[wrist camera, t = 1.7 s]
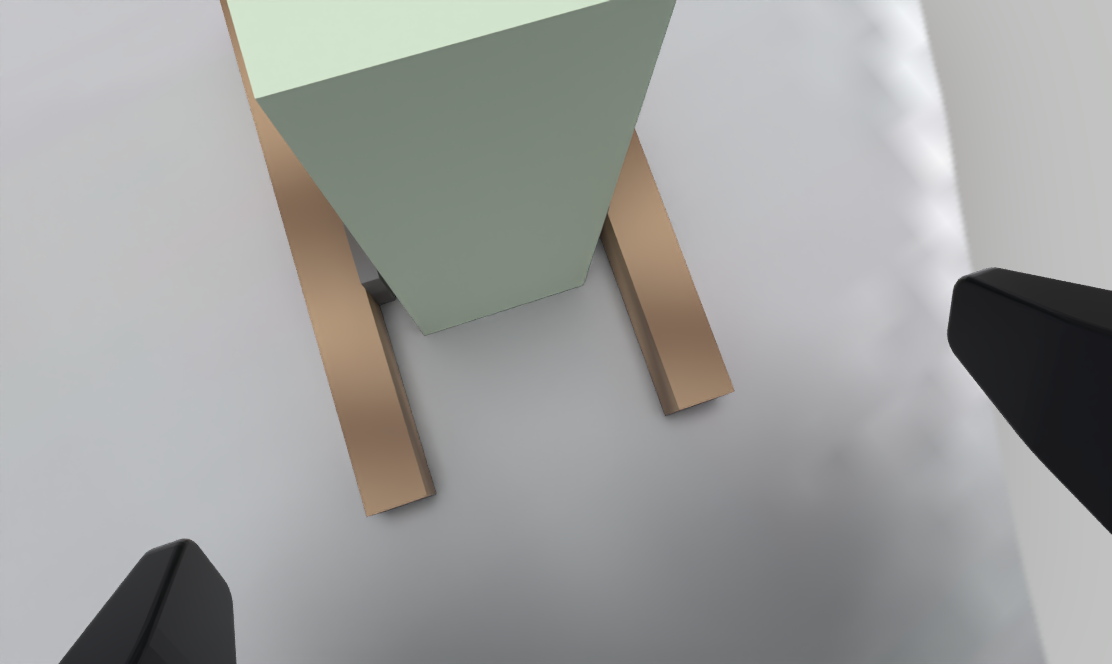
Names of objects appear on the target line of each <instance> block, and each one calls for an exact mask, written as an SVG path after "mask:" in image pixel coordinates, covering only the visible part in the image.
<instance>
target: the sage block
mask: <svg viewBox="0 0 1112 664" xmlns="http://www.w3.org/2000/svg"><path fill="white" fill-rule="evenodd" d="M227 3H228V7H229V10H230V14H231V17H232V21H233V24H234V28H235V31H236V35H237V38H238V42H239V45H240V49H241V52H242V56H243V59H244V63H245V66H246V70H247V73H248V77H249V80H250V84H251V87H252V91H253V94H254V97H255V100H256V101H257V103H258V104H259V105H260V107H261V108H262V110H263V111H264V112H265V114H266V115H267V116H268V118H269V119H270V121H271V122H272V123H273V125H274V126H275V128H276V129H277V130H278V132H279V133H280V135H281V136H282V137H283V139H284V140H285V142H286V143H287V144H288V146H289V147H290V149H291V150H292V151H293V153H294V154H295V156H296V157H297V158H298V160H299V161H300V163H301V164H302V165H303V167H304V168H305V170H306V171H307V172H308V174H309V175H310V177H311V178H312V179H313V181H314V182H315V184H316V185H317V186H318V188H319V189H320V191H321V192H322V193H323V195H324V196H325V198H326V199H327V200H328V202H329V203H330V204H331V206H332V207H333V209H334V210H335V211H336V213H337V214H338V216H339V217H340V218H341V220H342V221H343V223H344V224H345V225H346V227H347V228H348V230H349V231H350V232H351V234H352V235H353V237H354V238H355V239H356V241H357V242H358V244H359V245H360V246H361V248H362V249H363V251H364V252H365V253H366V255H367V256H368V258H369V259H370V260H371V262H372V263H373V265H374V266H375V267H376V269H377V270H378V272H379V273H380V274H381V276H382V277H383V279H384V280H385V281H386V283H387V284H388V285H389V287H390V288H391V290H392V291H393V292H394V294H395V295H396V297H397V298H398V299H399V301H400V302H401V304H402V305H403V306H404V308H405V309H406V311H407V312H408V313H409V315H410V316H411V318H412V319H413V320H414V322H415V323H416V325H417V326H418V327H419V329H420V330H421V332H422V333H423V334H424V336H425V335H428V334H431V333H434V332H438V331H441V330H444V329H447V328H450V327H453V326H456V325H460V324H463V323H466V322H469V321H472V320H475V319H478V318H482V317H485V316H488V315H491V314H494V313H497V312H500V311H503V310H507V309H510V308H513V307H516V306H519V305H522V304H525V303H529V302H532V301H535V300H538V299H541V298H544V297H547V296H551V295H554V294H557V293H560V292H563V291H566V290H569V289H573V288H576V287H579V286H582V285H584V282H585V279H586V275H587V272H588V269H589V266H590V263H591V260H592V257H593V254H594V251H595V248H596V245H597V242H598V239H599V236H600V233H601V230H602V226H603V223H604V220H605V217H606V214H607V211H608V208H609V205H610V202H611V199H612V196H613V193H614V190H615V187H616V184H617V181H618V177H619V174H620V171H621V168H622V165H623V162H624V159H625V156H626V153H627V150H628V147H629V144H630V141H631V138H632V135H633V132H634V128H635V125H636V122H637V119H638V116H639V113H640V110H641V107H642V104H643V101H644V98H645V95H646V92H647V89H648V86H649V83H650V79H651V76H652V73H653V70H654V67H655V64H656V61H657V58H658V55H659V52H660V49H661V46H662V43H663V40H664V37H665V34H666V30H667V27H668V24H669V21H670V18H671V15H672V12H673V9H674V6H675V3H676V0H227Z"/></svg>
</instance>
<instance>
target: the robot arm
mask: <svg viewBox="0 0 1112 664" xmlns="http://www.w3.org/2000/svg"><path fill="white" fill-rule="evenodd" d="M947 337H948V342H949V345H950V347H951V349H952V351H953V353H954V354H955V356H956V357H957V358H958V360H959V361H960V362H961V363H962V365H963V366H964V367H965V368H966V370H967V371H968V372H969V373H970V375H971V376H972V377H973V379H974V380H975V381H976V382H977V384H978V385H979V386H980V387H981V389H982V390H983V391H984V392H985V394H986V395H987V396H988V398H989V399H990V400H991V401H992V403H993V404H994V405H995V406H996V408H997V409H998V410H999V411H1000V413H1001V414H1002V415H1003V417H1004V418H1005V419H1006V420H1007V421H1008V423H1009V424H1010V425H1011V426H1012V428H1013V429H1014V430H1015V432H1016V433H1017V434H1018V435H1019V437H1020V438H1021V439H1022V440H1023V441H1024V442H1025V444H1026V445H1027V446H1028V447H1029V448H1030V450H1031V451H1032V452H1033V453H1034V454H1035V455H1036V456H1037V457H1038V459H1039V460H1040V461H1041V462H1042V463H1043V464H1044V465H1045V466H1046V467H1047V468H1048V469H1049V470H1050V471H1051V472H1052V473H1053V474H1054V475H1055V477H1056V478H1058V480H1059V481H1060V482H1061V483H1062V484H1063V485H1064V486H1065V487H1066V488H1067V489H1068V490H1069V491H1070V492H1071V493H1072V494H1073V495H1074V496H1075V497H1076V498H1077V499H1078V500H1079V501H1080V502H1081V503H1082V504H1083V505H1084V506H1085V507H1086V508H1087V510H1088V511H1089V512H1090V513H1091V514H1092V515H1093V516H1094V517H1095V518H1096V519H1097V520H1098V521H1099V522H1100V523H1101V524H1102V525H1103V526H1104V527H1105V528H1106V529H1107V530H1108V531H1109V532H1110V533H1111V534H1112V291H1110V290H1105V289H1100V288H1095V287H1091V286H1086V285H1081V284H1076V283H1071V282H1066V281H1061V280H1056V279H1051V278H1045V277H1041V276H1036V275H1031V274H1026V273H1021V272H1016V271H1011V270H1006V269H1001V268H986V269H983V270H980V271H977V272H974V273H971V274H968V275H965V276H963V277H961V278H960V279H958V281H957V282H956V284H955V285H954V289H953V294H952V301H951V308H950V315H949V322H948V329H947ZM59 664H236V648H235V631H234V614H233V601H232V596H231V593H230V590H229V587H228V585H227V583H226V582H225V580H224V579H223V577H222V576H221V575H220V573H219V572H218V571H217V570H216V568H215V567H214V566H213V564H212V563H211V562H210V560H209V559H208V558H207V556H206V555H205V554H204V553H203V551H202V550H201V549H200V547H199V546H198V545H197V544H196V543H195V542H194V541H192V540H190V539H180V540H177V541H174V542H171V543H168V544H165V545H162V546H159V547H156V548H153V549H151V550H149V551H148V552H147V553H145V555H144V556H143V557H142V558H141V559H140V560H139V562H138V563H137V564H136V565H135V567H134V568H133V569H132V571H131V572H130V573H129V574H128V576H127V577H126V578H125V579H124V581H123V582H122V583H121V585H120V586H119V587H118V588H117V590H116V591H115V592H114V594H113V595H112V596H111V597H110V599H109V600H108V601H107V602H106V604H105V605H104V606H103V608H102V609H101V610H100V611H99V613H98V614H97V615H96V617H95V618H94V619H93V620H92V622H91V623H90V624H89V625H88V627H87V628H86V629H85V631H84V632H83V633H82V634H81V636H80V637H79V638H78V640H77V641H76V642H75V643H74V645H73V646H72V647H71V648H70V650H69V651H68V652H67V654H66V655H65V656H64V657H63V659H62V660H61V661H60V663H59Z"/></svg>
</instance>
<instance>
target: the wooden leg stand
mask: <svg viewBox="0 0 1112 664" xmlns="http://www.w3.org/2000/svg"><path fill="white" fill-rule="evenodd" d="M220 3H221V6H222V10H223V13H224V17H225V20H226V24H227V27H228V31H229V34H230V38H231V41H232V45H233V48H234V52H235V56H236V59H237V63H238V66H239V70H240V73H241V77H242V80H243V84H244V87H245V91H246V94H247V98H248V101H249V105H250V108H251V112H252V115H253V119H254V122H255V126H256V129H257V133H258V136H259V140H260V143H261V147H262V150H263V154H264V157H265V161H266V164H267V168H268V171H269V175H270V178H271V182H272V185H273V189H274V192H275V196H276V199H277V203H278V207H279V210H280V214H281V217H282V221H283V224H284V228H285V231H286V235H287V238H288V242H289V245H290V249H291V252H292V256H293V259H294V263H295V266H296V270H297V273H298V277H299V280H300V284H301V287H302V291H303V294H304V298H305V301H306V305H307V308H308V312H309V315H310V319H311V322H312V326H313V329H314V333H315V336H316V340H317V343H318V347H319V350H320V354H321V358H322V361H323V365H324V368H325V372H326V375H327V379H328V382H329V386H330V389H331V393H332V396H333V400H334V403H335V407H336V410H337V414H338V417H339V421H340V424H341V428H342V431H343V435H344V438H345V442H346V445H347V449H348V452H349V456H350V459H351V463H352V466H353V470H354V473H355V477H356V480H357V484H358V487H359V491H360V494H361V498H362V501H363V505H364V509H365V512H366V516H367V517H368V516H371V515H375V514H378V513H382V512H385V511H387V510H390V509H393V508H396V507H399V506H402V505H405V504H408V503H411V502H414V501H417V500H420V499H423V498H426V497H428V496H431V495H434V494H436V491H435V488H434V485H433V481H432V478H431V475H430V472H429V468H428V465H427V462H426V458H425V455H424V452H423V448H422V445H421V442H420V438H419V435H418V432H417V429H416V425H415V422H414V419H413V415H412V412H411V409H410V405H409V402H408V399H407V396H406V392H405V389H404V386H403V382H402V379H401V376H400V372H399V369H398V366H397V362H396V359H395V356H394V353H393V349H392V346H391V343H390V339H389V336H388V333H387V329H386V326H385V323H384V319H383V316H382V313H381V310H380V306H379V305H381V304H384V303H387V302H390V301H393V300H395V297H394V294H393V291H392V290H391V288H390V287H389V285H388V284H387V283H386V281H385V280H384V279H383V277H382V276H381V274H380V273H379V272H378V270H377V269H376V267H375V266H374V265H373V263H372V262H371V260H370V259H369V258H368V256H367V255H366V253H365V252H364V251H363V249H362V248H361V246H360V245H359V244H358V242H357V241H356V239H355V238H354V237H353V235H352V234H351V232H350V231H349V230H348V228H347V227H346V225H345V224H344V223H343V221H342V220H341V218H340V217H339V216H338V214H337V213H336V211H335V210H334V209H333V207H332V206H331V204H330V203H329V202H328V200H327V199H326V198H325V196H324V195H323V193H322V192H321V191H320V189H319V188H318V186H317V185H316V184H315V182H314V181H313V179H312V178H311V177H310V175H309V174H308V172H307V171H306V170H305V168H304V167H303V165H302V164H301V163H300V161H299V160H298V158H297V157H296V156H295V154H294V153H293V151H292V150H291V149H290V147H289V146H288V144H287V143H286V142H285V140H284V139H283V137H282V136H281V135H280V133H279V132H278V130H277V129H276V128H275V126H274V125H273V123H272V122H271V121H270V119H269V118H268V116H267V115H266V114H265V112H264V111H263V110H262V108H261V107H260V105H259V104H258V103H257V101H256V100H255V97H254V94H253V91H252V87H251V84H250V80H249V77H248V73H247V70H246V66H245V63H244V59H243V56H242V52H241V49H240V45H239V42H238V38H237V35H236V31H235V28H234V24H233V21H232V17H231V14H230V10H229V7H228V3H227V0H220ZM600 237H601V240H602V242H603V245H604V248H605V251H606V253H607V256H608V259H609V262H610V264H611V267H612V270H613V273H614V275H615V278H616V281H617V284H618V286H619V289H620V292H621V295H622V298H623V300H624V303H625V306H626V309H627V311H628V314H629V317H630V320H631V322H632V325H633V328H634V331H635V333H636V336H637V339H638V342H639V344H640V347H641V350H642V353H643V356H644V358H645V361H646V364H647V367H648V369H649V372H650V375H651V378H652V380H653V383H654V386H655V389H656V391H657V394H658V397H659V400H660V403H661V405H662V408H663V411H664V414H665V415H668V414H671V413H674V412H677V411H680V410H683V409H686V408H689V407H692V406H695V405H698V404H700V403H703V402H706V401H709V400H712V399H715V398H718V397H720V396H723V395H726V394H728V393H731V392H734V388H733V385H732V383H731V380H730V378H729V375H728V372H727V370H726V367H725V364H724V362H723V359H722V357H721V354H720V351H719V349H718V346H717V343H716V341H715V338H714V336H713V333H712V330H711V328H710V325H709V322H708V320H707V317H706V314H705V312H704V309H703V307H702V304H701V301H700V299H699V296H698V293H697V291H696V288H695V286H694V283H693V280H692V278H691V275H690V272H689V270H688V267H687V265H686V262H685V259H684V257H683V254H682V251H681V249H680V246H679V244H678V241H677V238H676V236H675V233H674V230H673V228H672V225H671V223H670V220H669V217H668V215H667V212H666V209H665V207H664V204H663V201H662V199H661V196H660V194H659V191H658V188H657V186H656V183H655V180H654V178H653V175H652V173H651V170H650V167H649V165H648V162H647V159H646V157H645V154H644V152H643V149H642V146H641V144H640V141H639V138H638V136H637V133H636V131H635V128H634V132H633V135H632V138H631V141H630V144H629V147H628V150H627V153H626V156H625V159H624V162H623V165H622V168H621V171H620V174H619V177H618V181H617V184H616V187H615V190H614V193H613V196H612V199H611V202H610V205H609V208H608V211H607V214H606V217H605V220H604V223H603V226H602V230H601V233H600Z"/></svg>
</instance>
